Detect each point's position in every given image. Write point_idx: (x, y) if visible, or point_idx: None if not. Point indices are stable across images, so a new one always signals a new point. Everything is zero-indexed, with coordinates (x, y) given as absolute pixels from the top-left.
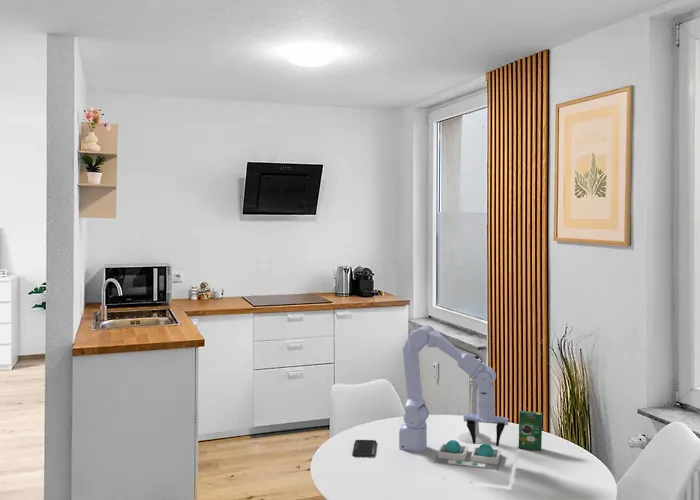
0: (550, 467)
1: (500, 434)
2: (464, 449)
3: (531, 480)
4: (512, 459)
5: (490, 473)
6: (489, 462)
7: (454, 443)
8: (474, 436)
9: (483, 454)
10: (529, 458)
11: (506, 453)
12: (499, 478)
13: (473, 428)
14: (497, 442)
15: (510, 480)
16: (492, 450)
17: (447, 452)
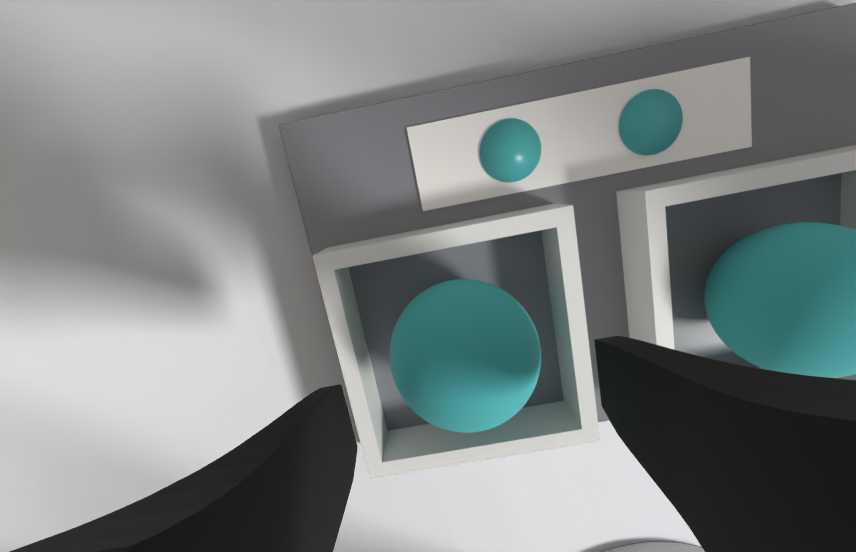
0: (15, 426)
1: (186, 478)
2: None
3: (11, 111)
4: None
5: (344, 92)
6: (395, 234)
7: (839, 276)
8: (650, 381)
9: (464, 280)
10: None
11: (372, 532)
12: (240, 18)
13: (794, 409)
14: (307, 401)
15: (147, 21)
16: (391, 355)
17: None
